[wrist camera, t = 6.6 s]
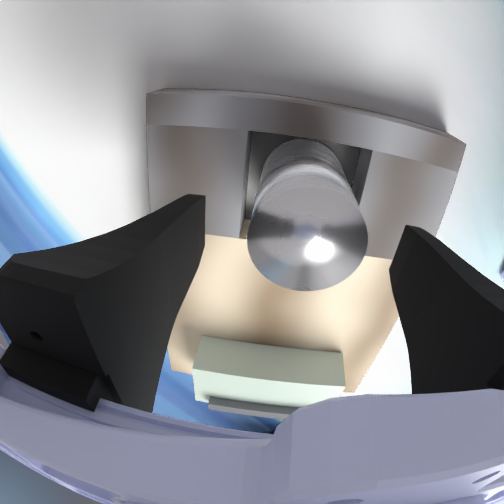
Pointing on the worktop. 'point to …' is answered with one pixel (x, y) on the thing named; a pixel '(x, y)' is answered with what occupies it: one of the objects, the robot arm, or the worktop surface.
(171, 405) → the worktop surface
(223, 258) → the housing
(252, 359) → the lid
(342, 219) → the peg
